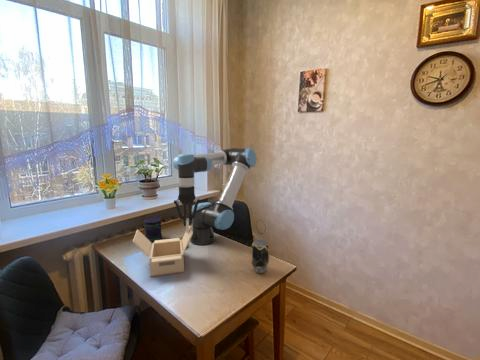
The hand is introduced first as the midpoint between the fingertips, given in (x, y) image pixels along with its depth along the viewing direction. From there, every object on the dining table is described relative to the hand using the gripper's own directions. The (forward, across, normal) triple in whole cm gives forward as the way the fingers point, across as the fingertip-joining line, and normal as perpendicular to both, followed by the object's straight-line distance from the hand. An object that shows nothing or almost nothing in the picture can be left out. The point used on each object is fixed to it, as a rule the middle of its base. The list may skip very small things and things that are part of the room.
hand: (187, 231), depth 124 cm
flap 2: (+7, +2, 0) cm, 8 cm away
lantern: (+16, -34, +16) cm, 40 cm away
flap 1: (+7, +18, 0) cm, 19 cm away
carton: (+17, +10, 0) cm, 20 cm away
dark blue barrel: (+17, +19, -31) cm, 40 cm away
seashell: (+17, +6, -17) cm, 24 cm away
